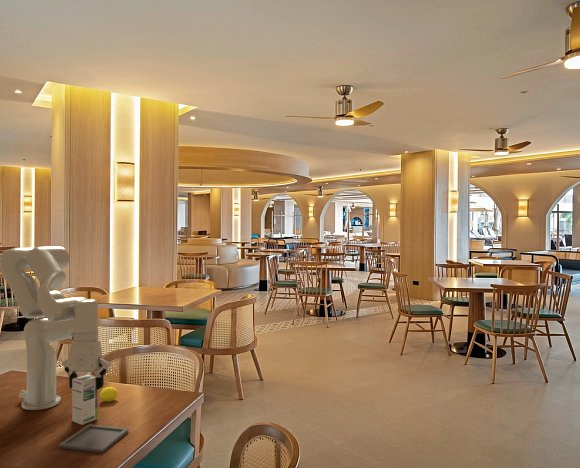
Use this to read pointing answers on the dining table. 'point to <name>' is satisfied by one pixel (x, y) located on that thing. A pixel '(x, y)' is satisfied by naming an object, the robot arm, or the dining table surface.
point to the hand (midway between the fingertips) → (86, 387)
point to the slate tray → (94, 438)
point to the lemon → (108, 394)
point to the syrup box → (84, 399)
